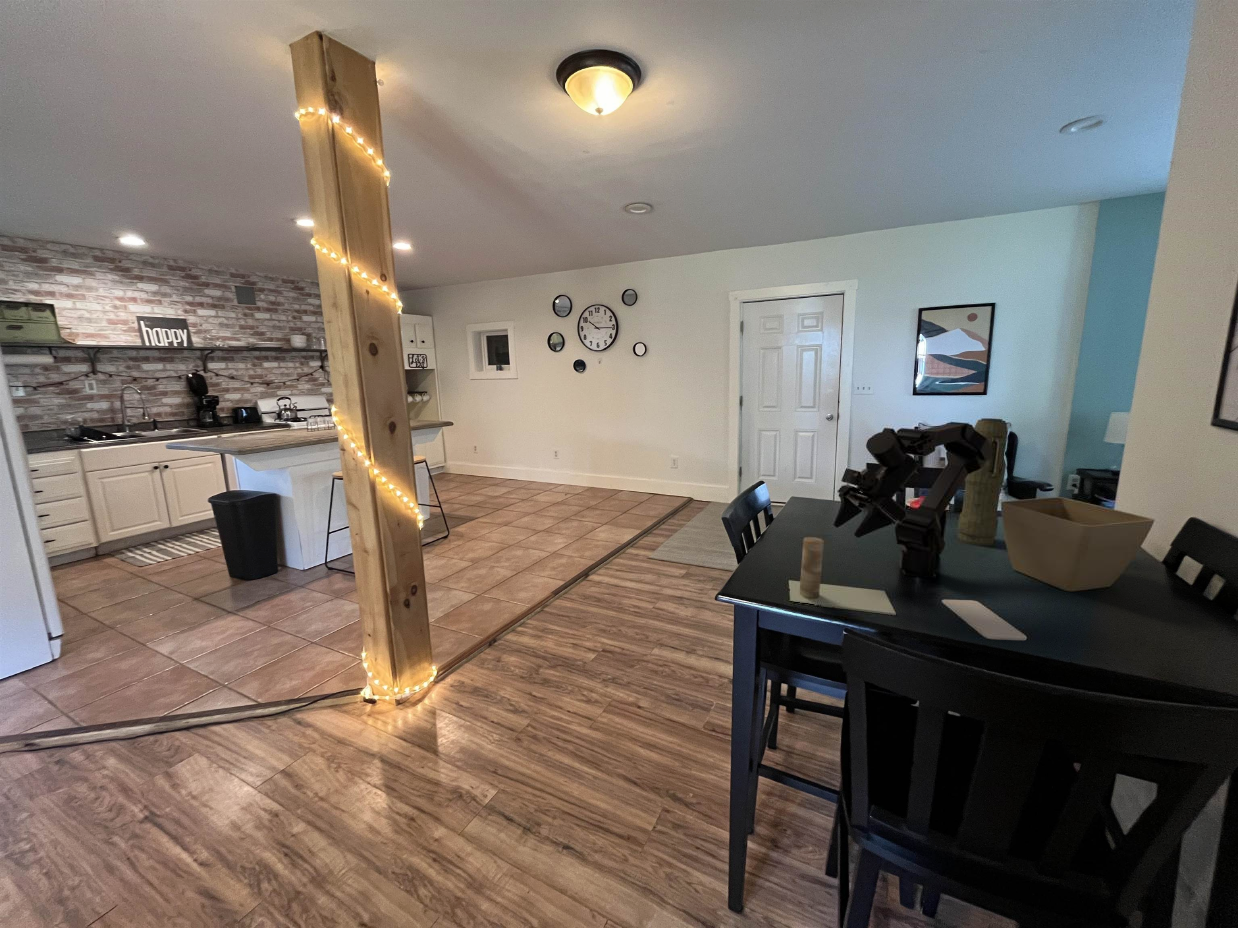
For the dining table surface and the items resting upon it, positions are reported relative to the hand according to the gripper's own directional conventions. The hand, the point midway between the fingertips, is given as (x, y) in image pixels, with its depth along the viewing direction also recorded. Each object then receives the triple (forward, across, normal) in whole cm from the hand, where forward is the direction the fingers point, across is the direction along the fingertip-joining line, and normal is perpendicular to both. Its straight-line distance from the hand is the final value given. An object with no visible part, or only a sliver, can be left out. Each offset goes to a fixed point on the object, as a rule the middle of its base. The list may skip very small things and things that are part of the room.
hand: (845, 531), depth 107 cm
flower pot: (-24, -2, +49) cm, 55 cm away
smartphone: (-1, +15, +25) cm, 29 cm away
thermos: (-25, -28, +47) cm, 60 cm away
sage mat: (+12, +4, +6) cm, 15 cm away
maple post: (+16, +4, +1) cm, 16 cm away
